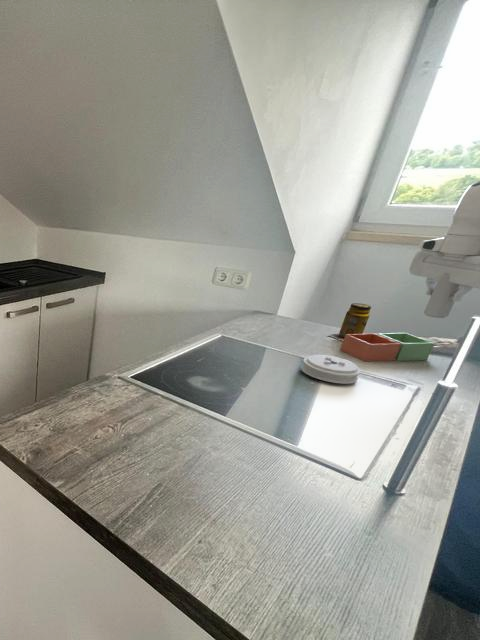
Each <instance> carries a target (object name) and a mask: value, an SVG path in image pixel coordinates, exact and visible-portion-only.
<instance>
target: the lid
mask: <svg viewBox="0 0 480 640" xmlns="http://www.w3.org/2000/svg"><path fill="white" fill-rule="evenodd" d="M302 361H303V364H302V365H301V367H300V370H301V371H302V372H303V373H304V374H306V375H308V376H309V377H312V378H315V379H316V380H317V379H318V380H320V381H325V382H329V383H335V384H353V383H356V382H357V381H358V380H359V378H358V376H359V375H360V374H361V372H362V370H361V368H360V367H358V365H357V364H355V362H353V361H350V360H348V359H345V358H342V357H338V356H332V355H327V354H312V355H309V356H306V357H304V358H303V360H302Z"/></svg>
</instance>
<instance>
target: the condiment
mask: <svg viewBox="0 0 480 640" xmlns="http://www.w3.org/2000/svg"><path fill="white" fill-rule="evenodd" d="M371 309H372V306H371V305H369V304H365V303H358V302H355V303H351V304H350V307H349V309H348V310H347V311H346V313H345V316H344V318H343V321H342V324H341V327H340V330H339V332H338V333H331V334H330V333H329V334H328V336H329V337H331V338H334V339H337V340H339V341H342V342H343V341H344V338H345V335H346V334H364V331H365V328H366V326H367V323H368V321H369V318H370V313H371Z"/></svg>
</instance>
